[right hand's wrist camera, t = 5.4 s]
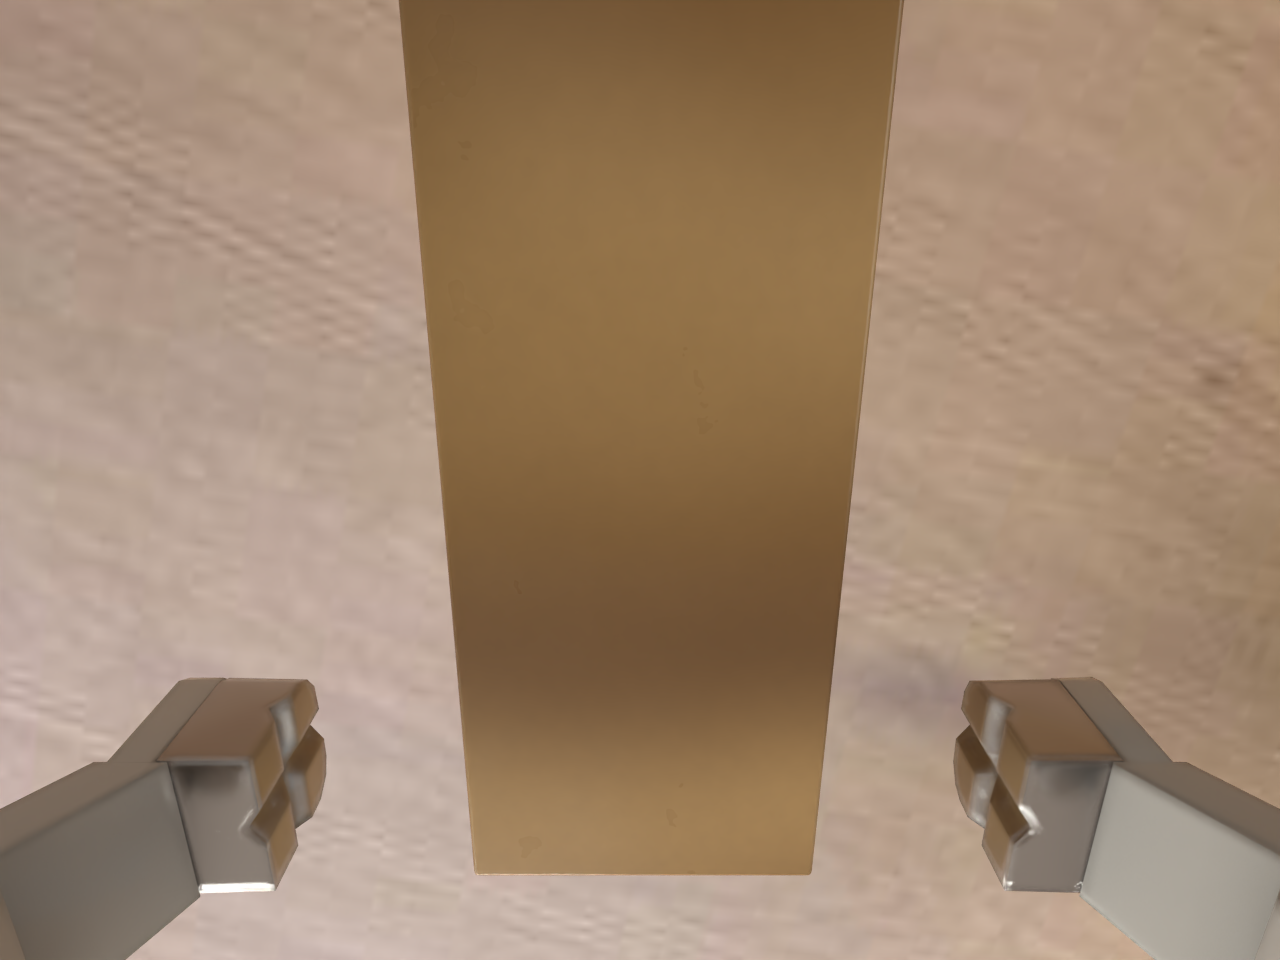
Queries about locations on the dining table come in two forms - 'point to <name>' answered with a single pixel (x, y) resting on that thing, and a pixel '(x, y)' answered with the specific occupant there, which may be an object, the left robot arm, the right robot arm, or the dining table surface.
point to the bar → (647, 408)
